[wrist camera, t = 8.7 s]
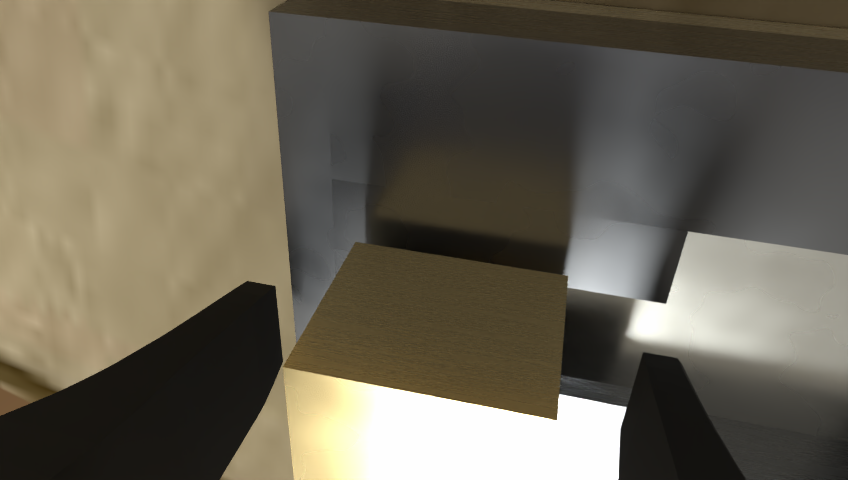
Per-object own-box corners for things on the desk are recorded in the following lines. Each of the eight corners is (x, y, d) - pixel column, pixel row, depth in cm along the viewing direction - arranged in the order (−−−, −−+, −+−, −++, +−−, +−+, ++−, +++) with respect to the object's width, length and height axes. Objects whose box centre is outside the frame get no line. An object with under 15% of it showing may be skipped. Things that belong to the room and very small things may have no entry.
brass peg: (572, 210, 14) (557, 421, 9) (546, 353, 16) (522, 584, 11) (388, 184, 15) (282, 367, 10) (386, 324, 17) (299, 531, 12)
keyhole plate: (1663, 107, 10) (1967, 192, 8) (1152, 567, 16) (1237, 683, 14) (324, -22, 13) (268, 11, 11) (340, 400, 20) (307, 474, 18)
